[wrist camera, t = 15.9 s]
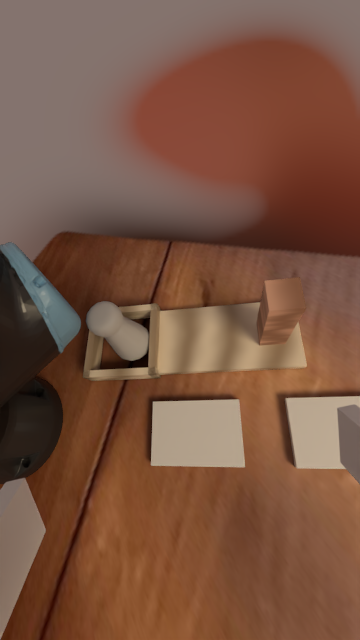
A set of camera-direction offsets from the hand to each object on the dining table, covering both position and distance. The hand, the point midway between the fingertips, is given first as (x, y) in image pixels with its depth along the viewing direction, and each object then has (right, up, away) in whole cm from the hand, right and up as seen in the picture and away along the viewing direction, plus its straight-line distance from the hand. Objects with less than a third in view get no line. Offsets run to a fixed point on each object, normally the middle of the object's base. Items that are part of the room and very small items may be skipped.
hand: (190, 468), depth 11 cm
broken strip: (+12, -8, +23) cm, 27 cm away
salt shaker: (-7, +2, +32) cm, 32 cm away
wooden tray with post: (+1, +3, +30) cm, 30 cm away
